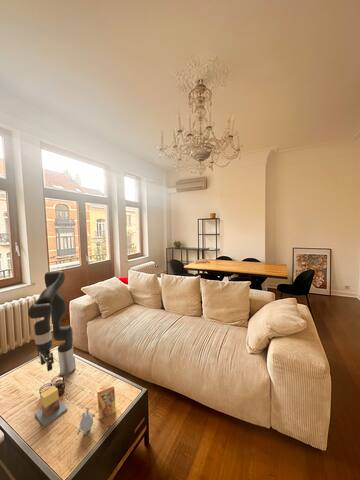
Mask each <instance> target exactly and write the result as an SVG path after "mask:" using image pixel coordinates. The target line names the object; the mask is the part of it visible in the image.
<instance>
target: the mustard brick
mask: <svg viewBox="0 0 360 480" xmlns="http://www.w3.org/2000/svg"><path fill="white" fill-rule="evenodd" d="M39 395H40V403H41V404H42V405H43V406H44V407H45V408H46V407H48V406H49V405H51V404H52V403H53V402H55V401H56V400H58V399H59V400H60V396H59V389H58V388H57V387H56V386H55V385H52V386H50V387H48V388H47V389H46V390H44V391H43V392H40V394H39ZM41 404H40V405H41ZM42 405H41V406H42Z"/></svg>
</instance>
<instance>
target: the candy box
mask: <svg viewBox="0 0 360 480" xmlns="http://www.w3.org/2000/svg"><path fill="white" fill-rule="evenodd" d="M96 396H97V397H96V398H97V407H98V419H99V420H101V419H103V418H105V417H108V416H110V415H113V414H116V412H117V411H116V409H117V407H116V394H115V386H114V383H110V384H107V385H105V386H101V387H98V388H97V389H96Z"/></svg>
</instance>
